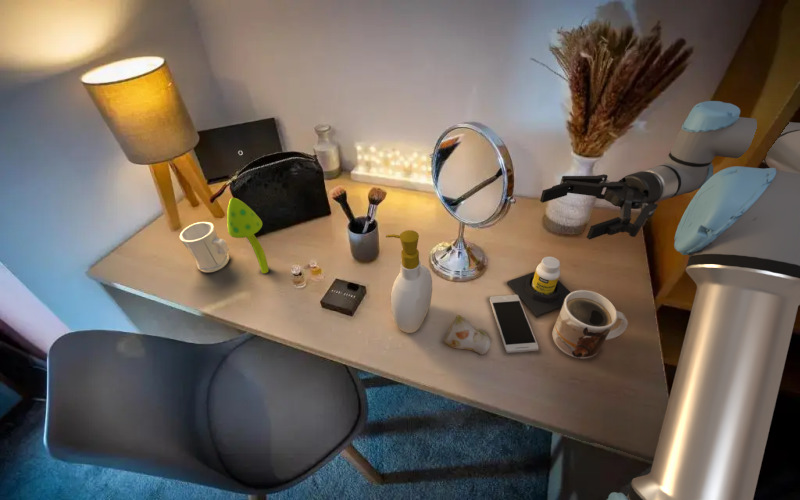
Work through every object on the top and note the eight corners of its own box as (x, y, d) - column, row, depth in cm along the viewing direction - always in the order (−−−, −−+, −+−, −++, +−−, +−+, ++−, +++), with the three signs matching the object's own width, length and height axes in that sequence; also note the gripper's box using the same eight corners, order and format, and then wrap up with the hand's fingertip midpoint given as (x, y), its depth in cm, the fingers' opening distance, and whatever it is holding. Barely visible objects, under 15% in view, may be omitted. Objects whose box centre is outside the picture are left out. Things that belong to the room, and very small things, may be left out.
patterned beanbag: (488, 367, 74) (467, 343, 69) (452, 356, 81) (430, 334, 76) (500, 336, 78) (481, 311, 72) (464, 329, 85) (444, 306, 79)
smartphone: (517, 296, 88) (518, 294, 87) (538, 350, 76) (539, 348, 76) (488, 298, 88) (489, 296, 87) (506, 353, 76) (506, 351, 76)
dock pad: (577, 302, 86) (580, 294, 84) (536, 318, 83) (538, 310, 81) (545, 270, 94) (547, 262, 92) (506, 283, 91) (508, 275, 89)
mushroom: (246, 282, 97) (208, 208, 80) (254, 261, 103) (220, 189, 86) (276, 280, 97) (244, 206, 80) (282, 259, 103) (254, 186, 86)
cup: (234, 247, 109) (219, 216, 101) (237, 265, 102) (220, 234, 94) (198, 258, 106) (179, 227, 98) (199, 277, 99) (178, 246, 91)
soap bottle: (405, 291, 91) (399, 210, 74) (438, 300, 88) (440, 218, 71) (382, 335, 81) (369, 253, 64) (418, 347, 79) (415, 265, 61)
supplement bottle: (530, 296, 86) (539, 268, 80) (530, 280, 90) (538, 252, 84) (554, 299, 85) (564, 271, 79) (552, 283, 89) (562, 255, 83)
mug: (564, 312, 84) (578, 280, 76) (618, 340, 77) (638, 309, 70) (544, 341, 78) (556, 309, 71) (599, 374, 72) (619, 343, 64)
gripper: (692, 235, 69) (607, 266, 64) (595, 176, 86) (523, 198, 81) (712, 203, 64) (622, 234, 59) (605, 148, 81) (529, 169, 76)
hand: (564, 213), depth 70 cm, fingers open, 13 cm apart
